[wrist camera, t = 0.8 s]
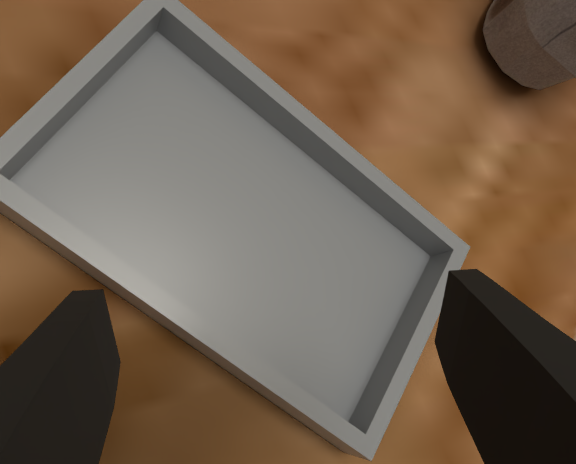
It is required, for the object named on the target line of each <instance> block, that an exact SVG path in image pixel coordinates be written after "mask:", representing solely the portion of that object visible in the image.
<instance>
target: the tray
mask: <svg viewBox="0 0 576 464" xmlns="http://www.w3.org/2000/svg"><path fill="white" fill-rule="evenodd" d="M0 213H1V214H2V215H4V216H5V217H7V218H8V219H10V220H11V221H13V222H14V223H15V224H17V225H18V226H20V227H21V228H23V229H24V230H25V231H27V232H28V233H30V234H31V235H33V236H34V237H35V238H37V239H38V240H40V241H41V242H43V243H44V244H46V245H47V246H48V247H50V248H51V249H53V250H54V251H56V252H57V253H58V254H60V255H61V256H63V257H64V258H66V259H67V260H68V261H70V262H71V263H73V264H74V265H76V266H77V267H79V268H80V269H81V270H83V271H84V272H86V273H87V274H89V275H90V276H91V277H93V278H94V279H96V280H97V281H99V282H100V283H101V284H103V285H104V286H106V287H107V288H109V289H110V290H111V291H113V292H114V293H116V294H117V295H119V296H120V297H122V298H123V299H124V300H126V301H127V302H129V303H130V304H132V305H133V306H134V307H136V308H137V309H139V310H140V311H142V312H143V313H144V314H146V315H147V316H149V317H150V318H152V319H153V320H155V321H156V322H157V323H159V324H160V325H162V326H163V327H165V328H166V329H167V330H169V331H170V332H172V333H173V334H175V335H176V336H177V337H179V338H180V339H182V340H183V341H185V342H186V343H188V344H189V345H190V346H192V347H193V348H195V349H196V350H198V351H199V352H200V353H202V354H203V355H205V356H206V357H208V358H209V359H210V360H212V361H213V362H215V363H216V364H218V365H219V366H221V367H222V368H223V369H225V370H226V371H228V372H229V373H231V374H232V375H233V376H235V377H236V378H238V379H239V380H241V381H242V382H243V383H245V384H246V385H248V386H249V387H251V388H252V389H254V390H255V391H256V392H258V393H259V394H261V395H262V396H264V397H265V398H266V399H268V400H269V401H271V402H272V403H274V404H275V405H276V406H278V407H279V408H281V409H282V410H284V411H285V412H287V413H288V414H289V415H291V416H292V417H294V418H295V419H297V420H298V421H299V422H301V423H302V424H304V425H305V426H307V427H308V428H309V429H311V430H312V431H314V432H315V433H317V434H318V435H320V436H321V437H322V438H324V439H325V440H327V441H328V442H330V443H331V444H332V445H334V446H335V447H337V448H338V449H340V450H341V451H342V452H344V453H347V454H350V455H354V456H357V457H360V458H363V459H366V460H369V461H372V459H373V457H374V455H375V452H376V450H377V448H378V446H379V444H380V442H381V439H382V437H383V435H384V433H385V431H386V429H387V426H388V424H389V422H390V420H391V418H392V416H393V413H394V411H395V409H396V407H397V405H398V403H399V400H400V398H401V396H402V394H403V392H404V390H405V387H406V385H407V383H408V381H409V379H410V377H411V374H412V372H413V370H414V368H415V366H416V364H417V361H418V359H419V357H420V355H421V353H422V351H423V348H424V346H425V344H426V342H427V340H428V338H429V335H430V333H431V331H432V329H433V327H434V325H435V322H436V320H437V318H438V316H439V314H440V312H441V307H442V302H443V297H444V292H445V287H446V282H447V277H448V272H449V271H450V270H460V268H461V266H462V264H463V262H464V260H465V257H466V255H467V253H468V251H469V249H470V246H469V245H467V244H466V243H465V242H464V241H463V240H461V239H460V238H459V237H458V236H457V235H456V234H454V233H453V232H452V231H451V230H450V229H448V228H447V227H446V226H445V225H444V224H442V223H441V222H440V221H439V220H438V219H437V218H435V217H434V216H433V215H432V214H431V213H429V212H428V211H427V210H426V209H425V208H424V207H422V206H421V205H420V204H419V203H418V202H416V201H415V200H414V199H413V198H412V197H410V196H409V195H408V194H407V193H406V192H405V191H403V190H402V189H401V188H400V187H399V186H397V185H396V184H395V183H394V182H393V181H392V180H390V179H389V178H388V177H387V176H386V175H384V174H383V173H382V172H381V171H380V170H378V169H377V168H376V167H375V166H374V165H373V164H371V163H370V162H369V161H368V160H367V159H365V158H364V157H363V156H362V155H361V154H360V153H358V152H357V151H356V150H355V149H354V148H352V147H351V146H350V145H349V144H348V143H347V142H345V141H344V140H343V139H342V138H341V137H339V136H338V135H337V134H336V133H335V132H333V131H332V130H331V129H330V128H329V127H328V126H326V125H325V124H324V123H323V122H322V121H320V120H319V119H318V118H317V117H316V116H315V115H313V114H312V113H311V112H310V111H309V110H307V109H306V108H305V107H304V106H303V105H301V104H300V103H299V102H298V101H297V100H296V99H294V98H293V97H292V96H291V95H290V94H288V93H287V92H286V91H285V90H284V89H283V88H281V87H280V86H279V85H278V84H277V83H275V82H274V81H273V80H272V79H271V78H269V77H268V76H267V75H266V74H265V73H264V72H262V71H261V70H260V69H259V68H258V67H256V66H255V65H254V64H253V63H252V62H251V61H249V60H248V59H247V58H246V57H245V56H243V55H242V54H241V53H240V52H239V51H237V50H236V49H235V48H234V47H233V46H232V45H230V44H229V43H228V42H227V41H226V40H224V39H223V38H222V37H221V36H220V35H219V34H217V33H216V32H215V31H214V30H213V29H211V28H210V27H209V26H208V25H207V24H205V23H204V22H203V21H202V20H201V19H200V18H198V17H197V16H196V15H195V14H194V13H192V12H191V11H190V10H189V9H188V8H187V7H185V6H184V5H183V4H182V3H181V2H179V1H178V0H143V1H142V2H141V3H140V4H139V5H138V6H137V7H136V8H135V9H134V10H133V11H132V12H131V13H130V14H129V15H128V16H127V17H126V18H124V19H123V20H122V21H121V22H120V23H119V24H118V25H117V26H116V27H115V28H114V29H113V30H112V31H111V32H110V33H109V34H108V35H107V36H106V37H105V38H104V39H103V40H102V41H101V42H99V43H98V44H97V45H96V46H95V47H94V48H93V49H92V50H91V51H90V52H89V53H88V54H87V55H86V56H85V57H84V58H83V59H82V60H81V61H80V62H79V63H78V64H77V65H76V66H75V67H73V68H72V69H71V70H70V71H69V72H68V73H67V74H66V75H65V76H64V77H63V78H62V79H61V80H60V81H59V82H58V83H57V84H56V85H55V86H54V87H53V88H52V89H51V90H50V91H48V92H47V93H46V94H45V95H44V96H43V97H42V98H41V99H40V100H39V101H38V102H37V103H36V104H35V105H34V106H33V107H32V108H31V109H30V110H29V111H28V112H27V113H26V114H25V115H24V116H22V117H21V118H20V119H19V120H18V121H17V122H16V123H15V124H14V125H13V126H12V127H11V128H10V129H9V130H8V131H7V132H6V133H5V134H4V135H3V136H2V137H1V138H0Z"/></svg>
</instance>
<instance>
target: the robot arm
mask: <svg viewBox="0 0 576 464" xmlns="http://www.w3.org/2000/svg"><path fill="white" fill-rule="evenodd" d="M435 345H436V348H437V351H438V355H439V358H440V361H441V365H442V368H443V371H444V374H445V377H446V380H447V383H448V386H449V388H450V390H451V392H452V395H453V397H454V399H455V401H456V404H457V406H458V408H459V410H460V412H461V414H462V417H463V419H464V421H465V423H466V425H467V427H468V430H469V432H470V434H471V436H472V438H473V440H474V442H475V445H476V447H477V449H478V451H479V453H480V455H481V457H482V460H483V462H484V464H576V341H575V340H573V339H572V338H570V337H569V336H567V335H566V334H565V333H563V332H562V331H560V330H559V329H558V328H556V327H555V326H553V325H552V324H551V323H549V322H548V321H546V320H545V319H544V318H542V317H541V316H540V315H538V314H537V313H536V312H534V311H533V310H532V309H530V308H529V307H528V306H526V305H525V304H524V303H522V302H521V301H520V300H518V299H517V298H516V297H514V296H513V295H512V294H510V293H509V292H508V291H506V290H505V289H504V288H502V287H501V286H500V285H498V284H497V283H496V282H494V281H493V280H492V279H490V278H489V277H488V276H486V275H485V274H483V273H482V272H480V271H479V270H477V269H468V270H450V271H449V272H448V277H447V282H446V287H445V292H444V297H443V302H442V307H441V312H440V317H439V322H438V327H437V332H436V337H435ZM119 369H120V358H119V354H118V349H117V345H116V341H115V337H114V333H113V329H112V325H111V320H110V316H109V312H108V308H107V304H106V300H105V296H104V291H103V289H101V290H82V291H72V292H71V293H70V294H69V295H68V296H67V297H66V298H65V299H64V300H63V301H62V302H61V303H60V304H59V305H58V306H57V307H56V309H55V310H54V311H53V312H52V313H51V314H50V315H49V316H48V317H47V318H46V319H45V320H44V321H43V322H42V323H41V324H40V326H39V327H38V328H37V329H36V330H35V331H34V332H33V333H32V334H31V335H30V336H29V337H28V338H27V339H26V340H25V341H24V342H23V343H22V344H21V345H20V346H19V347H18V348H17V349H16V350H15V351H14V352H13V354H12V355H11V356H10V357H9V358H8V359H7V360H6V361H5V362H4V363H3V364H2V365H1V366H0V464H98V463H99V460H100V456H101V453H102V449H103V446H104V442H105V438H106V435H107V431H108V427H109V424H110V420H111V416H112V412H113V409H114V403H115V397H116V390H117V384H118V376H119Z"/></svg>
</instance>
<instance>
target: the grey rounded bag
mask: <svg viewBox="0 0 576 464" xmlns="http://www.w3.org/2000/svg"><path fill="white" fill-rule="evenodd" d="M483 33H484V37H485V41H486V44H487V48H488V51H489V52H490V54H491V55H492V57H493V58H494V60H495V61H496V63H497V64H498V65H499V67H500V68H501V70H502V71H503V72H504V73H505V74H507V75H508V76H510V77H511V78H512V79H514V80H515V81H517V82H518V83H519V84H521V85H522V86H526V87H530V88H534V89H538V90H541V89H544V88H547V87H550V86H552V85H555V84H558V83H561V82H564V81H566V80H569V79H572V78H575V77H576V0H494V1H493V3H492V4H491V6H490V8H489V10H488V11H487V15H486V19H485V23H484V27H483Z"/></svg>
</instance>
